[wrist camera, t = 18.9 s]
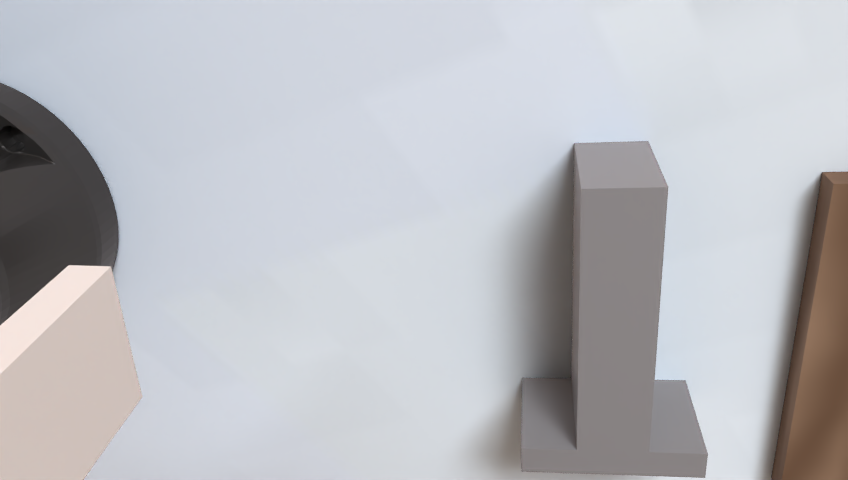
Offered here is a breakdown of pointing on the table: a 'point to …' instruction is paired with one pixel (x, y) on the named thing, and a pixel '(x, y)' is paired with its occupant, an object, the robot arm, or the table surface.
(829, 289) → the walnut board
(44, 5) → the table surface
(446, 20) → the table surface
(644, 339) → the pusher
